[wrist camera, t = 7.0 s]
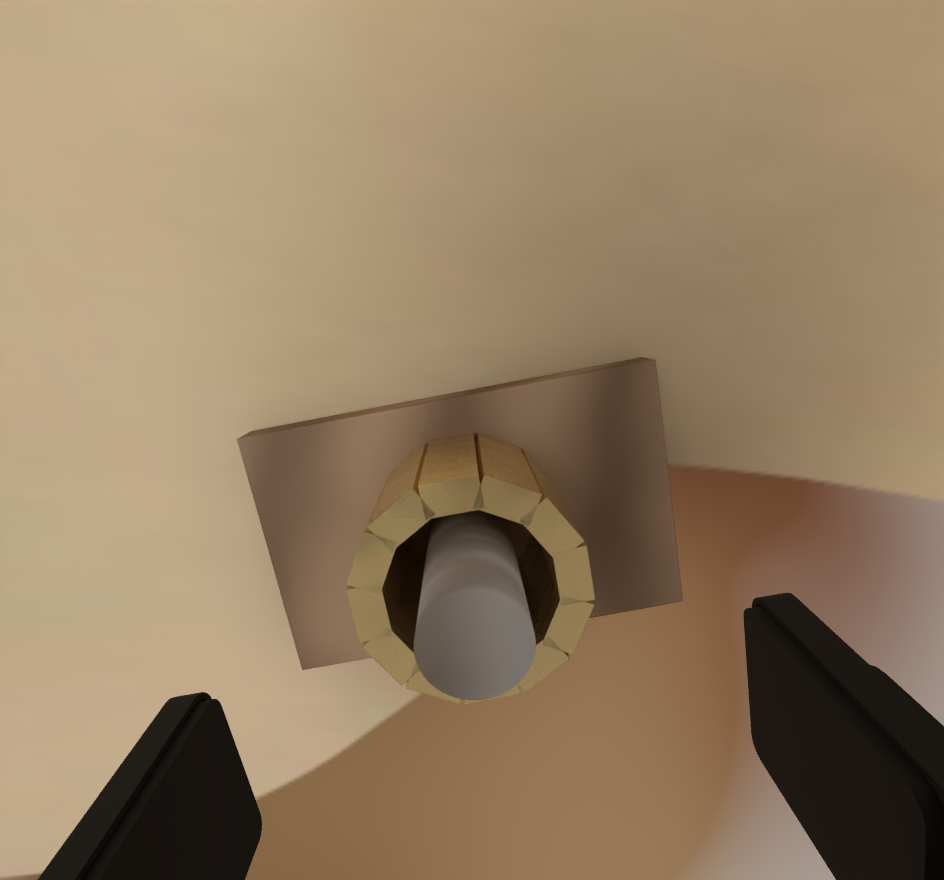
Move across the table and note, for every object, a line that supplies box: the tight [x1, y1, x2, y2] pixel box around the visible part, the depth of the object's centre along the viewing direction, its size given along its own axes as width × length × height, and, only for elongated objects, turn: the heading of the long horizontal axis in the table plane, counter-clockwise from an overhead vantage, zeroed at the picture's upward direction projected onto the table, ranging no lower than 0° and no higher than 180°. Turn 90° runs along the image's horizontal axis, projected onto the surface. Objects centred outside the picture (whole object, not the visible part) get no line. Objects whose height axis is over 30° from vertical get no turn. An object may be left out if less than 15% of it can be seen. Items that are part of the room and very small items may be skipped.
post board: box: [237, 357, 683, 700], centre depth 19 cm, size 16×10×10 cm, turn 101°
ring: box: [346, 432, 595, 704], centre depth 19 cm, size 7×7×6 cm
